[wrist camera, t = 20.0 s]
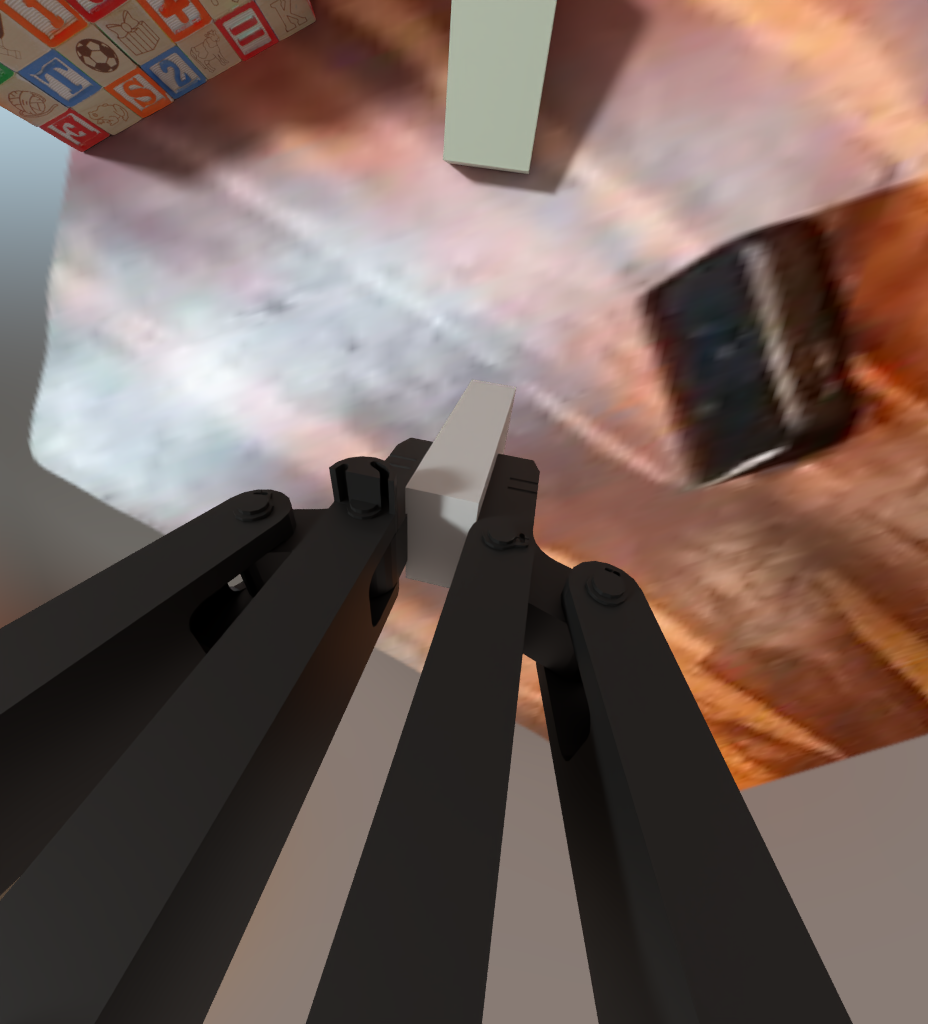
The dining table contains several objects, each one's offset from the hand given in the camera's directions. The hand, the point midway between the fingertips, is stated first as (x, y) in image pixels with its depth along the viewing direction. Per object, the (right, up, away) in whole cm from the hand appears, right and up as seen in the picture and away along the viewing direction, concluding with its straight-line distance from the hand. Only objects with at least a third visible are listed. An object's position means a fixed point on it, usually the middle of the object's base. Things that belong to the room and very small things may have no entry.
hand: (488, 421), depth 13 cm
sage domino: (+1, +21, +13) cm, 25 cm away
